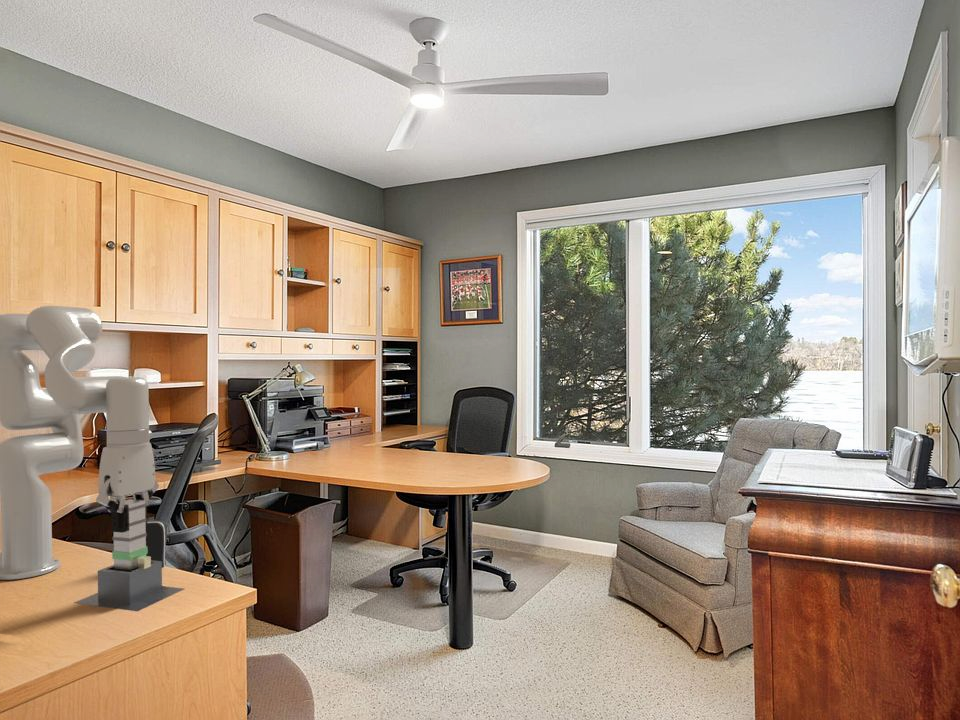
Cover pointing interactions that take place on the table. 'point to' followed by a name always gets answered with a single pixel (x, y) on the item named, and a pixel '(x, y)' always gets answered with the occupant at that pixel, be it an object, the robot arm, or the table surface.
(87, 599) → the stand
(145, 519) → the column
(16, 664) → the table surface
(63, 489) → the table surface
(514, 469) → the table surface
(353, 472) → the table surface
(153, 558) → the battery charger
